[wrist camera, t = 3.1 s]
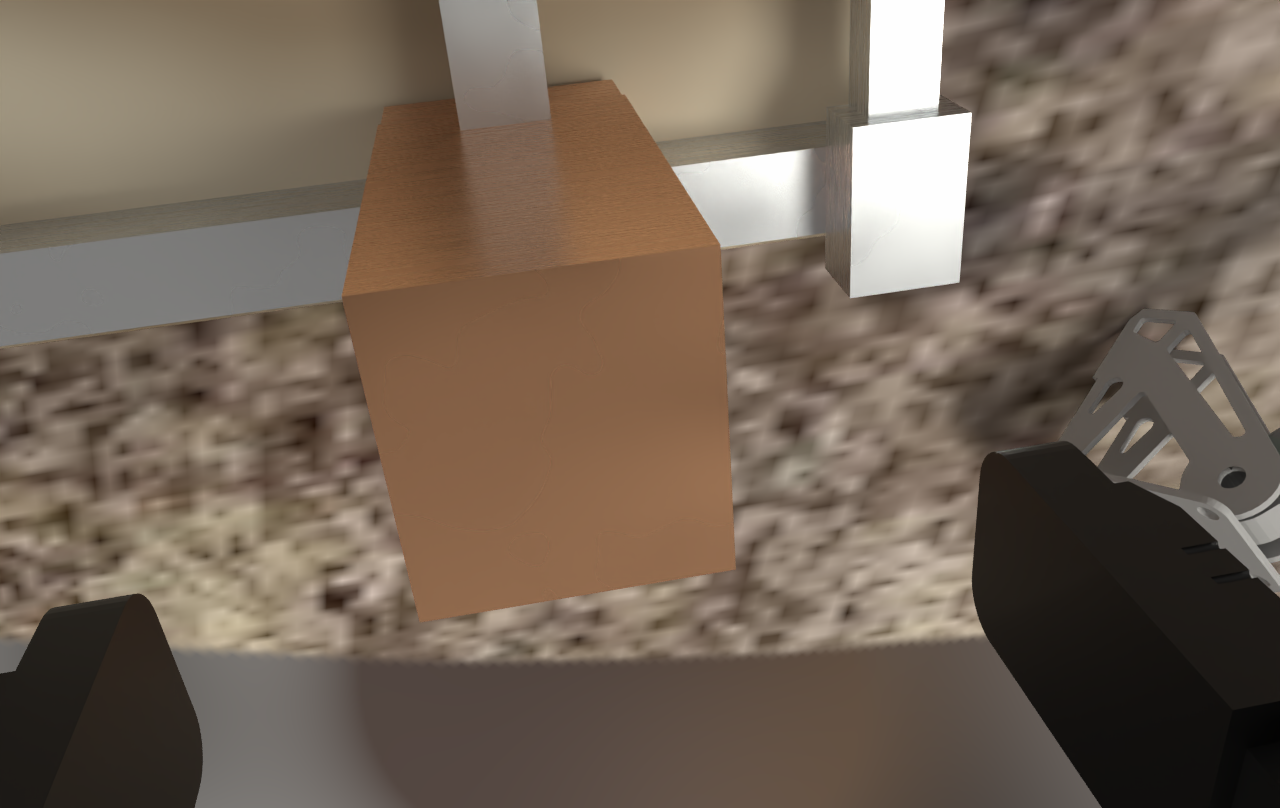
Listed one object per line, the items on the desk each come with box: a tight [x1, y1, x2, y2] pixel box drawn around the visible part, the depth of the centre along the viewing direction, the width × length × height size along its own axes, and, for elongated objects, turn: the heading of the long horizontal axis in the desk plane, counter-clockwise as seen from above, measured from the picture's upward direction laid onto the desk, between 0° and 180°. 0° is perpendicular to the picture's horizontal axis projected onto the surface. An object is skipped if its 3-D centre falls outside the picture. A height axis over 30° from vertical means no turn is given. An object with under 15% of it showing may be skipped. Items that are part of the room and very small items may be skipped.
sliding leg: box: [341, 0, 736, 622], centre depth 15 cm, size 9×4×9 cm, turn 5°
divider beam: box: [0, 0, 972, 346], centre depth 17 cm, size 8×20×3 cm, turn 95°
